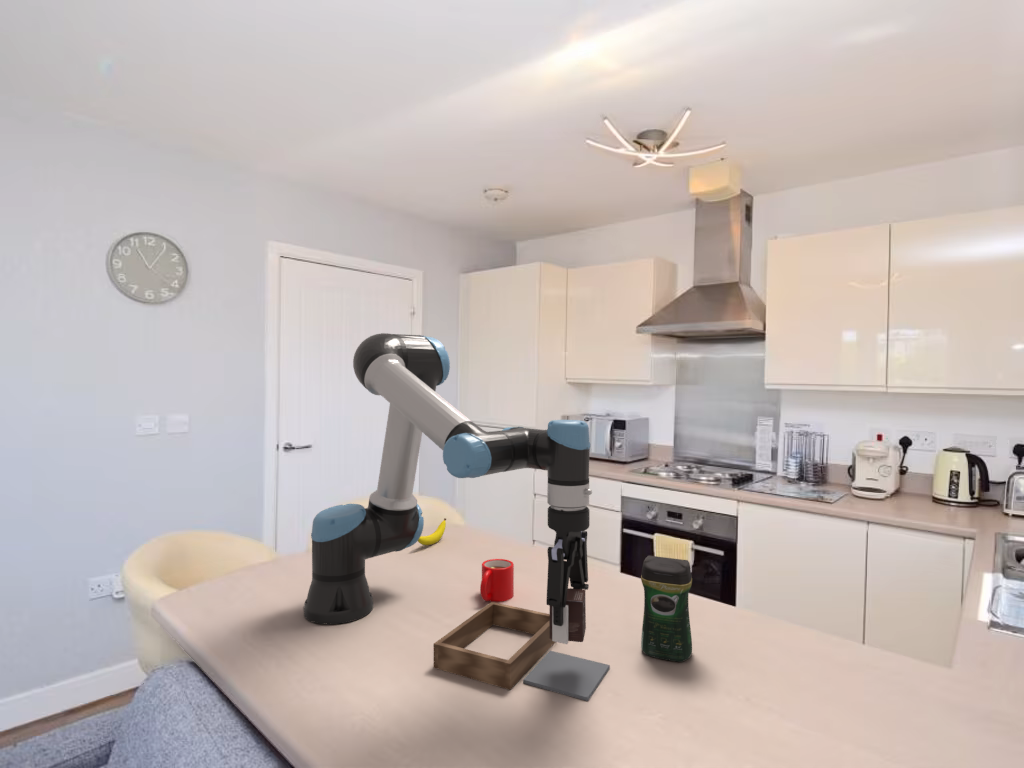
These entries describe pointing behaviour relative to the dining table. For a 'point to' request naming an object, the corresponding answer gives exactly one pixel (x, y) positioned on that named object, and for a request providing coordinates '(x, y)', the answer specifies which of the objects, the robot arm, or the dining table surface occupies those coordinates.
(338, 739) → the dining table surface
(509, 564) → the mug
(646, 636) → the coffee jar
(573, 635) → the box
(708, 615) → the dining table surface
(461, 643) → the walnut crate
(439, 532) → the banana
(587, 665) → the slate mat
